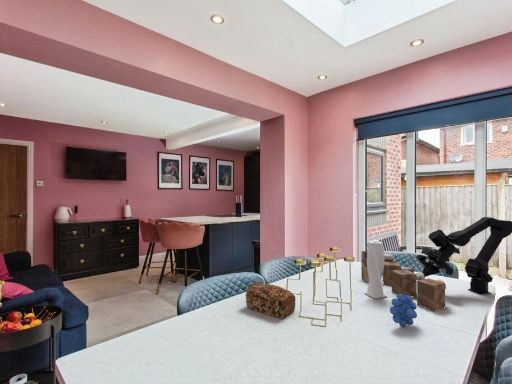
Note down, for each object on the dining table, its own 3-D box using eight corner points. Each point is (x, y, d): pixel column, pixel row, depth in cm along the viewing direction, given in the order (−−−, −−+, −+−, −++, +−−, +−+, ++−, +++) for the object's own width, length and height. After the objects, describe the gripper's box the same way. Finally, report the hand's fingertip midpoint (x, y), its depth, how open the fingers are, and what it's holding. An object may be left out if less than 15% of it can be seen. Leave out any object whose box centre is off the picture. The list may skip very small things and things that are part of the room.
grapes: (400, 335, 93) (400, 299, 94) (385, 325, 100) (385, 292, 100) (426, 330, 97) (426, 296, 97) (410, 321, 103) (410, 289, 103)
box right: (428, 301, 122) (428, 278, 123) (445, 307, 116) (445, 282, 116) (417, 305, 119) (417, 280, 119) (433, 311, 113) (433, 285, 113)
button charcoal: (412, 273, 147) (412, 264, 147) (414, 275, 142) (414, 267, 142) (395, 272, 149) (395, 263, 149) (396, 274, 145) (396, 265, 145)
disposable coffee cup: (397, 276, 160) (397, 256, 160) (380, 276, 160) (380, 256, 160) (389, 272, 169) (389, 252, 169) (373, 272, 169) (373, 252, 169)
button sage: (418, 280, 135) (418, 271, 135) (424, 283, 130) (424, 273, 130) (402, 280, 134) (402, 271, 134) (408, 283, 130) (408, 274, 130)
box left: (398, 282, 150) (398, 262, 150) (401, 286, 143) (401, 266, 143) (382, 280, 153) (382, 261, 153) (384, 284, 146) (384, 264, 146)
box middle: (407, 291, 136) (407, 270, 136) (416, 296, 129) (416, 274, 129) (391, 291, 135) (391, 270, 135) (400, 297, 128) (400, 274, 128)
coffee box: (381, 283, 148) (381, 253, 148) (372, 284, 146) (372, 254, 146) (370, 278, 157) (370, 250, 157) (360, 279, 155) (360, 250, 155)
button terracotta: (435, 288, 123) (435, 278, 123) (446, 292, 119) (446, 281, 119) (423, 291, 119) (423, 281, 119) (434, 295, 115) (434, 284, 115)
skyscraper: (389, 298, 126) (389, 237, 126) (376, 301, 123) (376, 238, 123) (375, 292, 134) (375, 235, 134) (362, 294, 131) (362, 235, 131)
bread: (244, 308, 115) (245, 284, 115) (260, 300, 124) (260, 278, 124) (282, 321, 104) (282, 294, 104) (296, 311, 112) (296, 287, 112)
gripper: (419, 238, 143) (399, 260, 142) (447, 245, 124) (424, 270, 123) (434, 253, 143) (413, 275, 142) (464, 262, 124) (440, 287, 124)
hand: (422, 276), depth 133 cm, fingers closed, pressing on button sage
